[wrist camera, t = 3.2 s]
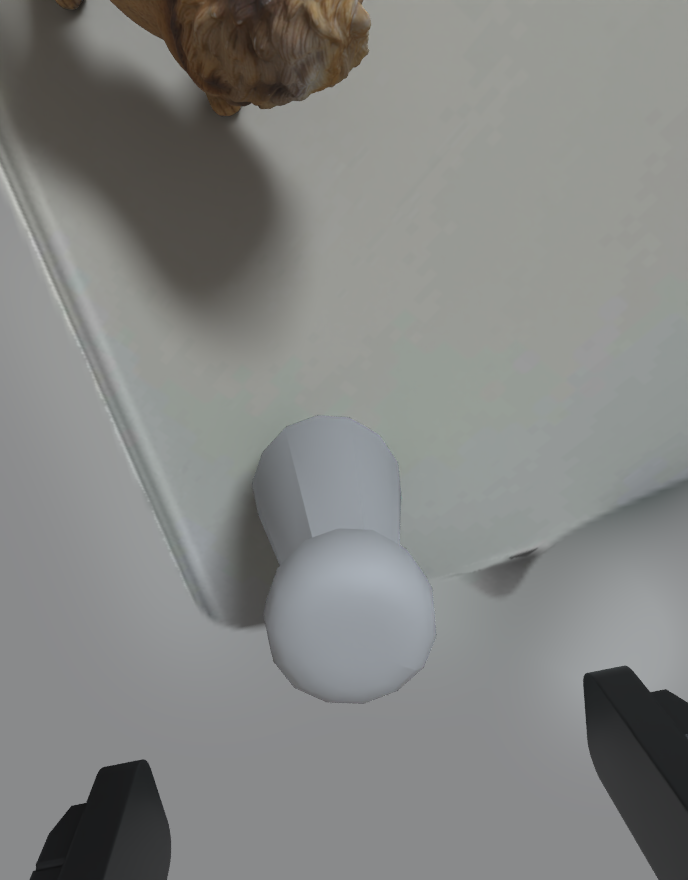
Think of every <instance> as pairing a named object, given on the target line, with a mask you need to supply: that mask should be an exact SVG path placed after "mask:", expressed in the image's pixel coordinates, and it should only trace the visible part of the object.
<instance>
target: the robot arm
mask: <svg viewBox="0 0 688 880" xmlns="http://www.w3.org/2000/svg"><path fill="white" fill-rule="evenodd" d="M583 682H584V683H583V686H584V698H585V713H586V725H587V740H588V747H589V751H590V755H591V758H592V761H593V764H594V767H595V769H596V772H597V774H598V776H599V778H600V780H601V782H602V784H603V785H604V787H605V789H606V790H607V792H608V794H609V796H610V797H611V799H612V801H613V802H614V804H615V806H616V808H617V809H618V811H619V813H620V814H621V816H622V818H623V820H624V821H625V823H626V825H627V826H628V828H629V830H630V831H631V833H632V835H633V836H634V838H635V840H636V842H637V844H638V845H639V847H640V849H641V850H642V852H643V854H644V856H645V857H646V859H647V861H648V862H649V864H650V866H651V867H652V869H653V871H654V873H655V874H656V876H657V878H658V879H659V880H688V703H687V702H686V701H684V700H683V699H681V698H679V697H678V696H676V695H674V694H673V693H671V692H669V691H668V690H666V689H665V690H660V691H655V692H649V690H648V689H647V688H646V687H645V685H644V684H643V683H642V682H641V680H640V679H639V678H638V677H637V675H636V674H635V673H634V672H633V671H632V670H631V669H630V668H629V667H627V666H621V667H615V668H611V669H605V670H601V671H595V672H590V673H586V674H585V675H584V679H583ZM170 859H171V837H170V829H169V824H168V821H167V818H166V815H165V812H164V809H163V805H162V802H161V800H160V796H159V793H158V790H157V787H156V784H155V781H154V777H153V775H152V771H151V768H150V766H149V764H148V763H147V761H146V760H138V761H133V762H128V763H122V764H117V765H113V766H107V767H103V768H101V769H100V770H99V772H98V774H97V776H96V779H95V782H94V784H93V787H92V789H91V792H90V795H89V797H88V800H87V803H84V804H79V805H74V806H71V807H70V809H69V810H68V811H67V812H66V814H65V815H64V816H63V817H62V819H61V820H60V821H59V822H58V823H57V825H56V826H55V827H54V829H53V830H52V831H51V832H50V833H49V835H48V837H47V840H46V842H45V845H44V847H43V849H42V852H41V854H40V856H39V859H38V861H37V863H36V871H33V873H32V875H31V878H30V880H167V876H168V871H169V866H170Z"/></svg>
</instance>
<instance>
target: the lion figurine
mask: <svg viewBox="0 0 688 880" xmlns="http://www.w3.org/2000/svg"><path fill="white" fill-rule="evenodd" d="M55 1H56V2H57V3H58V4H59V5H60V6H61V7H62V8H64V9H76V8H78V7H79V6H80V4H81V2H82V1H83V0H55ZM110 1H111V2H112V3H113V4H114V5H115V6H116V7H117V8H118V9H120V10H121V11H122V12H123V13H124V14H125V15H126V16H127V17H129V18H130V19H131V20H132V21H134V22H135V23H136V24H138V25H139V26H141V27H142V28H144V29H145V30H147V31H148V32H150V33H152V34H153V35H155V36H157V37H159V38H161V39H163V40H164V41H165V43H166V45H167V47H168V49H169V51H170V52H171V54H172V55H173V57H174V58H175V60H176V61H177V62H178V63H179V65H180V66H181V67H182V68H183V69H184V70H185V71H186V72H187V73H188V75H189V76H190V77H191V79H192V80H193V81H194V83H195V84H196V85H197V86H198V87H199V88H200V89H201V90H203V91H204V92H205V93H206V95H207V98H208V101H209V103H210V105H211V107H212V109H213V110H214V111H215V112H216V113H217V114H218V115H220V116H231V115H233V114H235V113H236V112H238V111H239V110H240V107H241V106H247V105H249V104H251V103H253V104H254V105H256V106H259V108H260V109H271V108H273V107H275V106H281V105H285V104H287V103H289V102H291V101H302V100H305V99H306V98H307V97H308V96H309V95H310V94H311V93H315V92H316V91H317V92H318V91H322V90H324V89H325V88H327V87H333V86H334V85H335V84H337V83H339V82H341V81H342V80H343V79H345V78H347V76H348V73H349V72H350V71H351V69H352V68H353V67H357V66H358V65H359V64H360V62H361V60H362V59H363V58H364V57H365V56H366V55H368V52H369V49H368V45H367V43H368V35H369V29H370V26H371V20H370V15H369V14H368V13H367V12H366V11H365V9H364V8H363V6H362V5H361V4H362V2H363V0H110Z"/></svg>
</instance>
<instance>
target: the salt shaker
mask: <svg viewBox="0 0 688 880" xmlns="http://www.w3.org/2000/svg"><path fill="white" fill-rule="evenodd" d="M252 487H253V492H254V497H255V501H256V506H257V511H258V515H259V518H260V520H261V522H262V525H263V527H264V529H265V532H266V534H267V536H268V539H269V541H270V543H271V546H272V548H273V550H274V553H275V555H276V558H277V560H278V562H279V565H280V566H279V567H278V568H277V571H276V574H275V577H274V579H273V582H272V585H271V588H270V591H269V594H268V597H267V599H266V604H265V609H264V619H265V624H266V629H267V634H268V639H269V644H270V649H271V653H272V657H273V661H274V663H275V664H276V665H277V667H278V668H279V669H280V670H281V672H282V673H283V674H284V675H285V677H286V678H287V679H288V680H289V682H290V683H291V684H292V685H293V687H294V688H296V689H298V690H301V691H303V692H305V693H307V694H309V695H312V696H314V697H316V698H318V699H321V700H323V701H325V702H332V703H358V704H364V703H366V702H369V701H372V700H374V699H377V698H380V697H382V696H385V695H388V694H390V693H393V692H396V691H398V690H399V689H400V688H401V687H402V686H403V685H404V684H406V683H407V682H408V681H409V680H410V679H411V678H412V677H413V676H415V675H416V674H417V673H418V672H419V671H420V670H421V669H422V668H423V667H424V665H425V663H426V660H427V658H428V655H429V653H430V651H431V648H432V646H433V643H434V641H435V638H436V625H435V613H434V601H433V591H432V586H431V584H430V583H429V581H428V579H427V577H426V575H425V574H424V572H423V571H422V570H421V568H420V567H419V565H418V564H417V563H416V561H415V560H414V558H413V557H412V555H411V554H410V553H409V551H408V550H407V549H406V548H405V547H403V546H401V545H400V514H401V486H400V476H399V467H398V461H397V460H396V458H395V457H394V455H393V454H392V452H391V451H390V449H389V448H388V446H387V445H386V443H385V442H384V440H383V439H382V437H381V436H380V435H379V434H378V433H376V432H374V431H372V430H371V429H369V428H367V427H366V426H364V425H362V424H360V423H359V422H357V421H355V420H353V419H352V418H350V417H337V416H323V415H317V416H314V417H311V418H308V419H306V420H303V421H300V422H297V423H295V424H292V425H289V426H286V427H285V429H284V430H283V431H282V432H281V433H280V434H279V435H278V436H277V437H276V438H275V439H274V440H273V441H272V443H271V444H270V445H269V446H268V447H267V448H266V449H265V450H264V451H263V453H262V455H261V458H260V461H259V464H258V467H257V470H256V473H255V476H254V479H253V482H252Z"/></svg>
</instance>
